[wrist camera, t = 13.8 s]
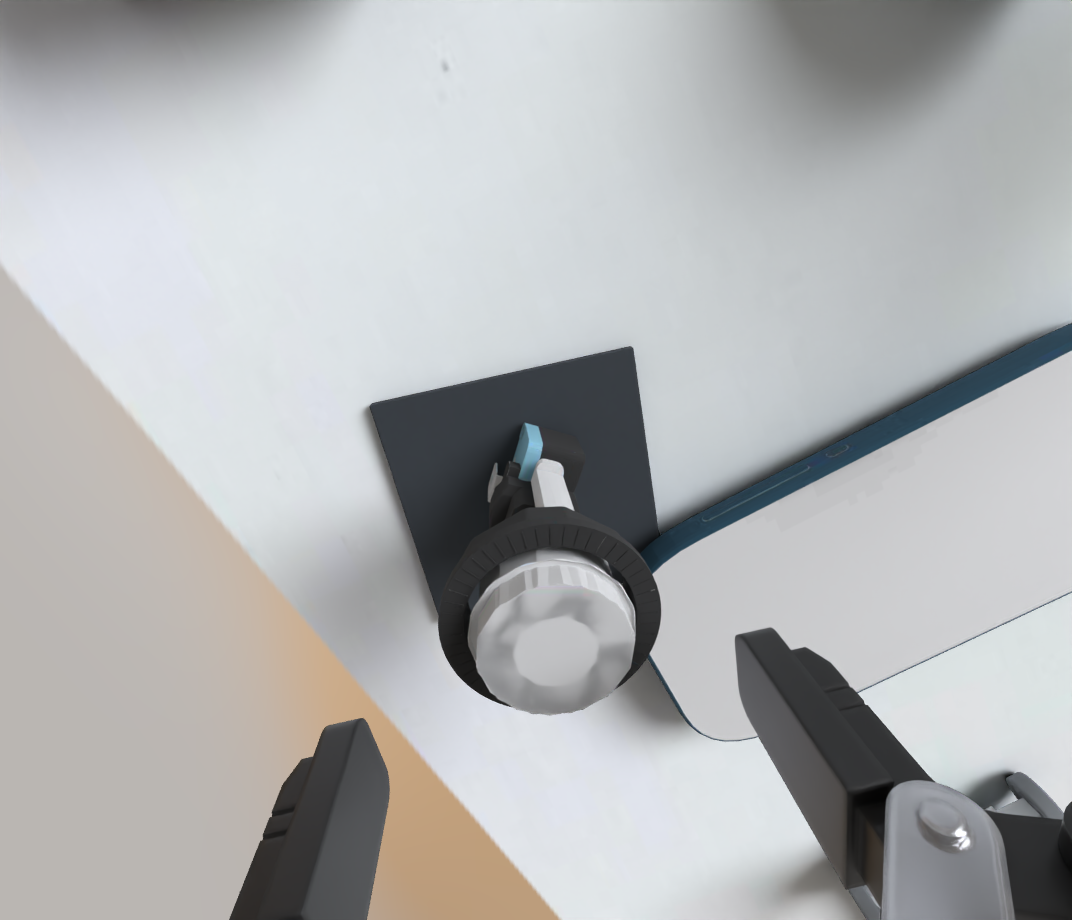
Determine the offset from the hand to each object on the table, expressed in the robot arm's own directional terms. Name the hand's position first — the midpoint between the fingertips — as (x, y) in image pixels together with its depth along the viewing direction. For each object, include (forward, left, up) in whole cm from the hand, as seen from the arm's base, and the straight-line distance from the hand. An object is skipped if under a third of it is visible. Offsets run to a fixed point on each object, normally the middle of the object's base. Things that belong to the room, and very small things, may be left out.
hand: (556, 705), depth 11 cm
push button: (0, 0, -11) cm, 11 cm away
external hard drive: (+15, -6, -11) cm, 19 cm away
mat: (0, 0, -11) cm, 11 cm away
